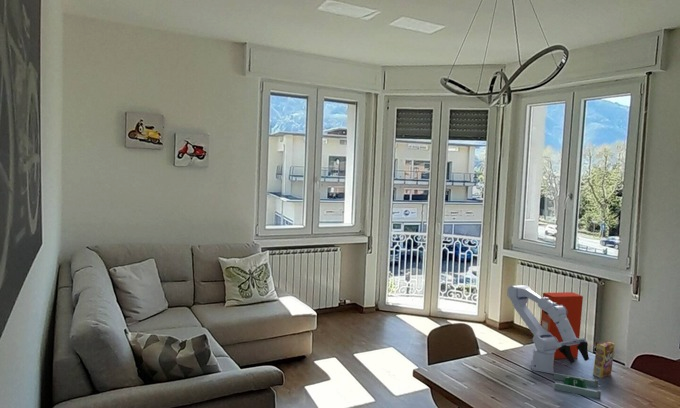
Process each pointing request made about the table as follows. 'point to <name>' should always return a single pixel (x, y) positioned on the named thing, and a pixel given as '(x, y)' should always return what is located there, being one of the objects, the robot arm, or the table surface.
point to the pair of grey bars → (577, 389)
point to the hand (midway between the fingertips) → (579, 361)
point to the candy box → (603, 359)
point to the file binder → (573, 314)
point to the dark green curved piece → (575, 382)
